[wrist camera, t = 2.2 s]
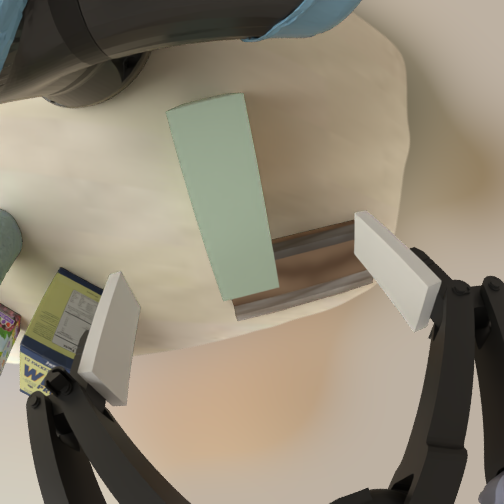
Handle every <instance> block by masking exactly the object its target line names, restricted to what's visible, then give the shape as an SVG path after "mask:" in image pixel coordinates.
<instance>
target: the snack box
mask: <svg viewBox="0 0 504 504" xmlns="http://www.w3.org/2000/svg"><path fill="white" fill-rule="evenodd" d="M20 318H21V316H20V315H18V314H17V313H15V312H13V311H12V310H10V309H8V308H7V307H5V306H4V305H2V304H0V375H1V373H2V370H3V368H4V365H5V363H6V361H7V358H8V356H9V353H10V351H11V349H12V347H13V345H14V342H15V340H16V338H17V336H18V334H19V332H20Z"/></svg>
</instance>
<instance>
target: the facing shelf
mask: <svg viewBox="0 0 504 504" xmlns="http://www.w3.org/2000/svg"><path fill="white" fill-rule="evenodd" d="M271 241H272V247H273V253H274V259H275V264H276V270H277V276H278V282H279V287H278V288H275V289H271V290H267V291H263V292H259V293H255V294H251V295H247V296H243V297H239V298H235V299H232V302H233V305H234V309H235V315H236V318H237V321H240V320H245V319H249V318H253V317H257V316H261V315H264V314H270V313H274V312H278V311H281V310H285V309H287V308H291V307H295V306H298V305H302V304H305V303H309V302H312V301H316V300H319V299H323V298H326V297H331V296H334V295H337V294H341V293H344V292H347V291H349V290H352V289H355V288H358V287H361V286H365V285H368V284H371V283H373V277H372V275H371V274H370V273H369V272H368V270H367V269H366V268H365V267H364V265H363V264H362V263H361V262H360V260H359V259H358V258H357V257H356V255H355V254H354V241H355V220H351V221H347V222H343V223H339V224H335V225H331V226H327V227H323V228H318V229H314V230H310V231H306V232H302V233H298V234H294V235H290V236H286V237H282V238H278V239H274V240H271Z"/></svg>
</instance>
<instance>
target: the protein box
mask: <svg viewBox="0 0 504 504" xmlns="http://www.w3.org/2000/svg"><path fill="white" fill-rule="evenodd" d="M102 293H103V290H102V289H100V288H98V287H96V286H94V285H92V284H91V283H89V282H87V281H85V280H83V279H81V278H79V277H78V276H76V275H74V274H72V273H70V272H68V271H67V270H65V269H63V268H62V267H60V269H59V270H58V272H57V274H56V275H55V277H54V279H53V280H52V282H51V284H50V286H49V287H48V289H47V291H46V293H45V295H44V296H43V298H42V300H41V302H40V304H39V306H38V308H37V310H36V312H35V314H34V316H33V318H32V320H31V322H30V324H29V326H28V328H27V330H26V333H25V335H24V337H23V339H22V341H21V344H20V391H21V392H23V393H25V394H27V395H28V396H30V395H31V394H32V393H33V392H35V391H41V392H42V393H43V394H44V395H46V396H48V395H50V394H52V393H51V392H50V391H49V390H48V389H47V388H46V387H45V386H44V380H45V377H46V375H47V373H48V372H49V371H50V370H51V369H52V368H54V367H56V366H61V367H63V368H64V369H65V370H66V371H67V372H68V373H69V374H70V370H71V367H72V363H73V360H74V356H75V355H76V354H75V353H76V350H77V348H78V347H77V346H78V343H79V340H80V338H81V336H82V335H83V333H84V332H85V330H90V328H91V324H92V321H93V318H94V315H95V312H96V310H97V307H98V304H99V301H100V298H101V296H102Z"/></svg>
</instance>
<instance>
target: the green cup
mask: <svg viewBox="0 0 504 504" xmlns="http://www.w3.org/2000/svg"><path fill="white" fill-rule="evenodd" d="M22 242H23V241H22V236H21V232H20V229H19V227H18V225H17V223H16V222H15V220H14V218H13V217H12V216H11V215H10V214H9V213H7V212H6V211H4V210H2V209H0V284H1V283H2V281H3V279H4V277H5V275H6V273H7V272H8V271H9V269H10V267H11V265H12V264H13V262H14V260H15V259H16V257H17V256H18V254H19V253H20V251H21V248H22Z"/></svg>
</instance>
